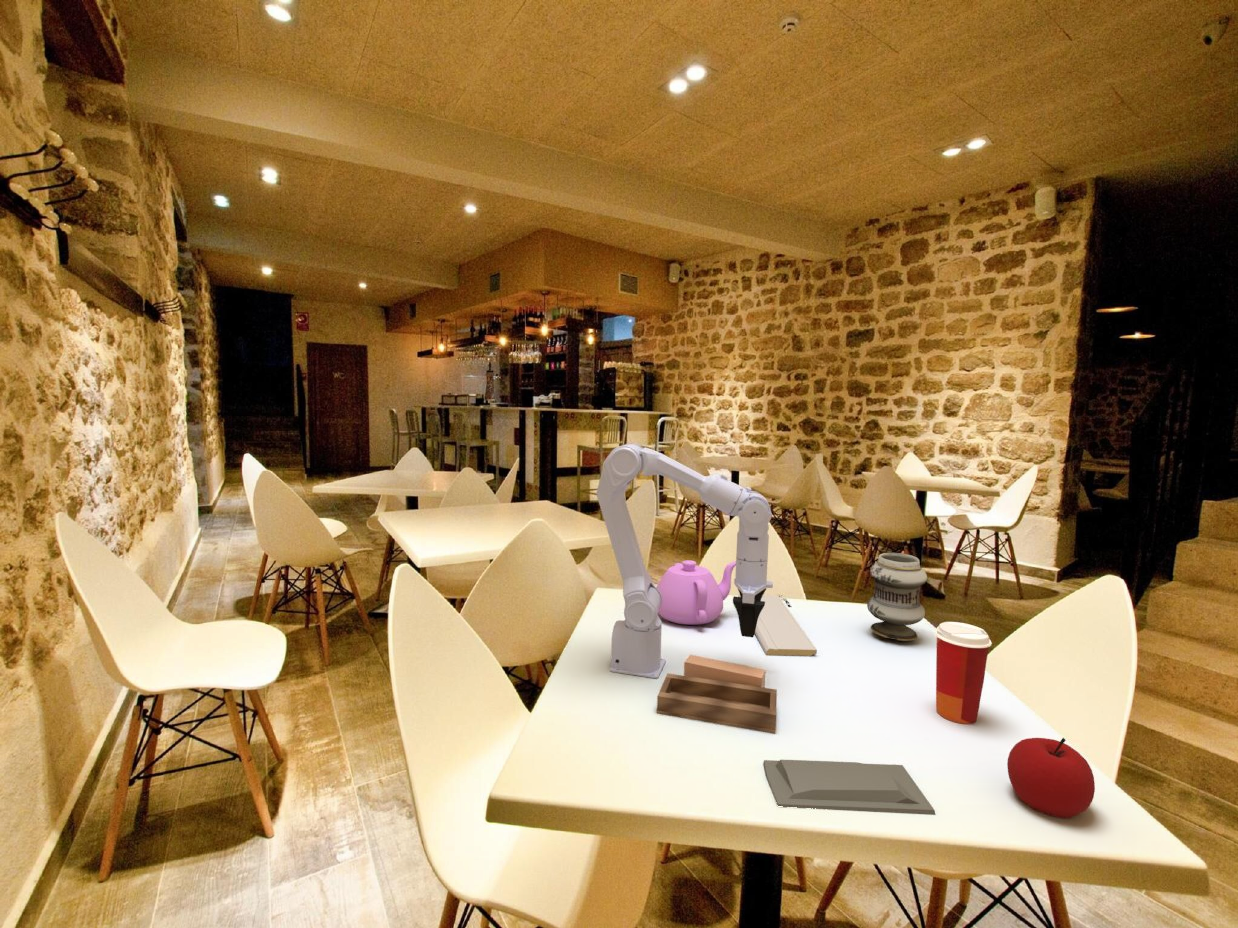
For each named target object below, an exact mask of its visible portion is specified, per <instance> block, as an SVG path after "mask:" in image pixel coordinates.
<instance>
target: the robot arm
mask: <svg viewBox="0 0 1238 928" xmlns="http://www.w3.org/2000/svg"><path fill="white" fill-rule="evenodd" d="M641 472H642V477H647V476H656V475H659V476H662V477H664V478H666V479H669V480H671V481H673V482H675V483H677V484H680V485H682V486H684V487H687V488H689V489H691V490H692V491H696V492H697V493H698V494H699V498H700V500H701V502H703V503H704V504H707V505H709V506H711V507H713V508H714V509H717V510H719V511H721V512H723V513H724V514H726V515H729V516H731V517H735V516H736V517H737V518H738V519H739V520H738V531H737V534H736V554H735V555H736V556H735V557H736V558H735V561H736V566H735V578H734V580H733V585H735V587H736V588H737V591H738V593H739V595H740V596H741V597H738V596H734V595H733V598H732V603H733V607H734V608H735V610H736V612H737V613H736V614H737V617H738V622H739V628H740V629H739V630H740V634H741V636H742V637H747V638H754V636H755V635H756V634H755V630H756V625H757V621H758V617H759V615H760V613H761V611H762V609H763V607H764V605H765V601H761V598H762V596H763V595H765V592H766V590H767V589H773V587H774V581H770V580H769V581H768V577H767V576H768V560H769V559H768V558H769V537H770V536H769V528H770V527H769V525H770V524H769V523H770V521H771V519H772V516H773V513H772V510H771V507H770V506H771V505H770V504H769V502H768V499H766V497H765V496H763V494H761V493H760V492H758V491H756V490H755V491H754V490H752V488H751V487H749V486H746V487H743V486H741V485H740V484H737V483H735V482H734V481H733V482H732V481H731V480H729V479H728V478H729V477H728V475H726V474H724V473H721V474H720V475H718V474H717V473H713V474H710V475H707V476H705V475H703V474H701V473H700V472H698V471H695V470H694V469H692V468H690V467H688V466H686V465H684V464H682V463H681V462H678V461H677V460H675V459H673V458H671V457H669V456H667V455H665V454H664V453H661V452H659V451H656V450H654V449H651V448H648V447H643V446H641V445H640V444H638V443H635V442H628V443H625V444H623V445H620V446H617V447H615V448H614V449H612V450H611V451H610V453H609V454H608V456H607V457H606V458H605V460H604V461H603V463H602V470H601V474H600V478H599V481H598V486H597V489H596V498H597V501H598V504H599V506H600V507H599V508H600V510H601V513H602V517H603V520H604V523H605V526H606V527H605V528H606V531H607V534H608V537H609V540H610V543H611V547H612V550H613V553H614V557H615V560H616V563H617V566H618V570H619V573H620V576H621V580H622V594H623V595H622V596H623V600H624V609H623V610H624V611H623V614H624V615H623V616H624V620H623V619H622V620H620V619H619V620H616V621H615V622H614V626H613V628H612V634H611V651H610V652H611V653H610V654H611V655H610V657H611V658H610V659H611V662H610V668H609V671H610V672H611V673H617V674H623V675H625V674H626V675H631V676H637V677H643V678H649V679H659V677H660V674H661V672H662V671H663V668H664V666H665V664H666V659H665V658H662V657H661V655H662V630H663V629H662V624H663V623H662V619H661V618H660V616H659V615H658V614H659V613H658V610H659V608H660V606H661V604H662V596H661V593H660V591H659V590H658V589H657V588H656V587H657V586H656V585H655V584H654V583H653V580H652V577H651V575H650V573H648V571H647V567H646V564H645V562H644V561H645V560H644V557H643V555H642V552H641V548H640V544H639V541H638V539H637V535H636V532H635V529H634V525H633V522H632V519H631V515H630V511H629V509H628V508H629V507H628V506H627V505H628V504H627V502H626V499H625V498H626V497H625V493H626V492H627V490H628V488H629V486H630V485H631V484H632V481H633V480H634V479H635V478H636V477H637V476H638V475H639V474H640V473H641Z"/></svg>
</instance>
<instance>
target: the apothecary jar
mask: <svg viewBox="0 0 1238 928" xmlns="http://www.w3.org/2000/svg"><path fill="white" fill-rule="evenodd" d="M920 563H921V562H920V559H919V558H918V557H916V556H913V555H911V554H906V553H900V552H899V553H898V552H884V553H881V554H879V556H878V560H877V561H876V562H875V563H873V564H872V565H871V567H870V569H869V573H870V575H871V576H870V577H872V578H873V579H874V589H873V596H871V597H870V598H869V599H868V600H867V604H866V607H867V609H868V612H869V613H870V614H871V615H872V616H873V617H874V618H876V619H878V620H880V621H878V622H875V623H872V624H871V625H870V630H871V631H872V632H873V633H874V634H876V635H877V636H880V637H882V638H886V639H893V640H894V639H895V640H896V641H903V642H904V641H905V642H909V641H914V640H916V639H917V638H918V633H917V632H916V631H915V630H914V629H912V628H911V627H909V626H912V625H915V624H917V623H919V622H921V621H922V620H923V619H924V618H925V615H926V611H925V608H924V606H923V605H922V604H921V603H920V601H921V600H920V599H921V598H920V597H921V594H920V593H921V586H922V585H925V583H927V580H928V575H927V573H926V571H925V570H924V569H923V568H922V567H921V565H920Z"/></svg>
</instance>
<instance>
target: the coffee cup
mask: <svg viewBox="0 0 1238 928" xmlns="http://www.w3.org/2000/svg"><path fill="white" fill-rule="evenodd" d="M933 635H934V636H935V638H936V665H935V666H936V671H935V673H936V674H935V675H936V676H935V677H936V679H935V685H936V686H935V687H936V688H935V708H936V712H937V714H938V715H939V716H941V717H942V718H944V719H946V721H947V720H948V721H950V722H953V723H956V724H962V725H972V724H975V723H976V722H977V719H978V716H979V710H980V705H981V704H980V703H981V697H982V692H983V688H984V682H985V674H986V669H987V667H986V666H987V661H988V654H989V648H990V647H991V646H992V644H993V643H992V641H991V639H990V636H989V634H988V632H986V631H985V629H983V628H981V627H978V626H976V625H972V624H969V623H965V622H959V621H944V622H941V623H939V625H938V626H937V627H936V629H935V631H934V632H933Z"/></svg>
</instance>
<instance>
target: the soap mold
mask: <svg viewBox="0 0 1238 928" xmlns="http://www.w3.org/2000/svg"><path fill="white" fill-rule="evenodd" d="M762 766H763V770H764V775H765V778H766V780H767V782H768V785H769V788H770V791H771V793H772V796H773V798H774V800H776V801H775V803H776V802H777V803H776V806H777V805H778V806H783V807H782V808H787V807H797V808H796V809H806V808H811V809H810V810H826V809H827V810H829V811H830V810H831V811H847V812H849V811H851V812H869V813H870V812H872V813H889V814H891V813H892V814H909V815H910V814H911V815H928V816H929V815H930V816H936V812H935V809H934V807H933V805H932V804H931V803H930V802H929V800H928V799H927V797H926V796H925V794H924V793H923V792H922V790H921V789H920V788H919V786H918V785H917V784H916V782H915V781H914V779H913V777H912V776H911V775H910V773H909V772H908V770H906V768H905V767H904V766H903V764H886V763H885V764H884V763H862V762H857V761H856V762H855V761H853V762H852V761H832V760H830V761H828V760H807V759H806V760H803V759H802V760H801V759H779V760H768V759H764V760H763V762H762ZM778 806H777V807H778ZM812 808H813V809H812ZM815 808H816V809H815Z"/></svg>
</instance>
